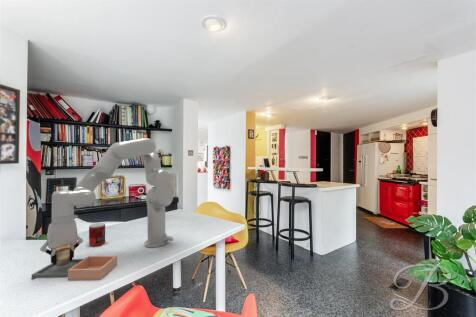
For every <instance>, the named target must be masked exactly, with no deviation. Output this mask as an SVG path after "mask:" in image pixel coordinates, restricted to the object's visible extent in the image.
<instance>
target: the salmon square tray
mask: <svg viewBox="0 0 476 317" xmlns="http://www.w3.org/2000/svg"><path fill="white" fill-rule="evenodd" d="M83 259H84V260H82V261H81V262H79V263H78V264H76V265H75V266H73V267H72V268H70V269H69V270H68V277H67V281H96V280H97V281H101V280H102V279H103V278H104V277H105V276H106V275H108V274H109V273H110V272H111V271H112V270H113V269H114V268H115V267H116V266H117V265H118V256H117V255H89V256H87V257H85V258H83Z"/></svg>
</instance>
